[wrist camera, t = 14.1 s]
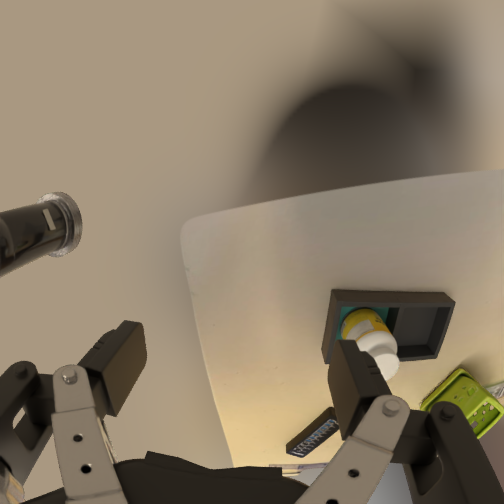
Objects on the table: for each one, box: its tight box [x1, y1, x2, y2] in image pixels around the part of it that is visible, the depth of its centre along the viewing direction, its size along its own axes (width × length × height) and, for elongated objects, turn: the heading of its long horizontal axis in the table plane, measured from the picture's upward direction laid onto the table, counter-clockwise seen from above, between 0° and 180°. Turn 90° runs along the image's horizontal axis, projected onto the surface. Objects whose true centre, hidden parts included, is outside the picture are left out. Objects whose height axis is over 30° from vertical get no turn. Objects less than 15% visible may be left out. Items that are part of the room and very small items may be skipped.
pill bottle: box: [340, 307, 399, 381], centre depth 36 cm, size 6×6×12 cm
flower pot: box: [420, 368, 504, 439], centre depth 39 cm, size 14×14×13 cm
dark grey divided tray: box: [321, 290, 456, 364], centre depth 40 cm, size 20×10×4 cm, turn 87°
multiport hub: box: [286, 407, 339, 458], centre depth 48 cm, size 4×14×2 cm, turn 150°
